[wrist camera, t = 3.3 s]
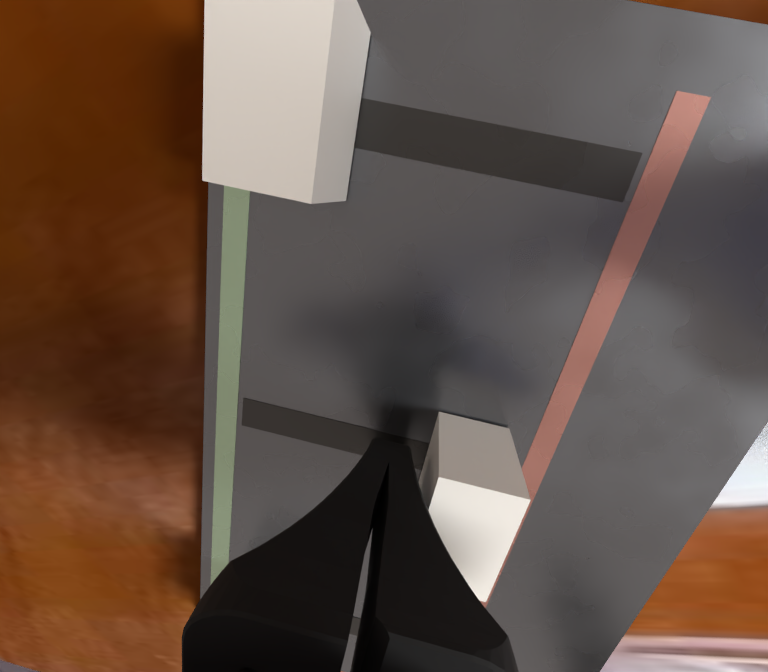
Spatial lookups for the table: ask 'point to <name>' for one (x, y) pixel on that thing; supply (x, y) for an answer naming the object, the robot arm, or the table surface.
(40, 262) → the table surface
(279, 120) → the breaker
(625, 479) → the panel
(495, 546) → the breaker mid
